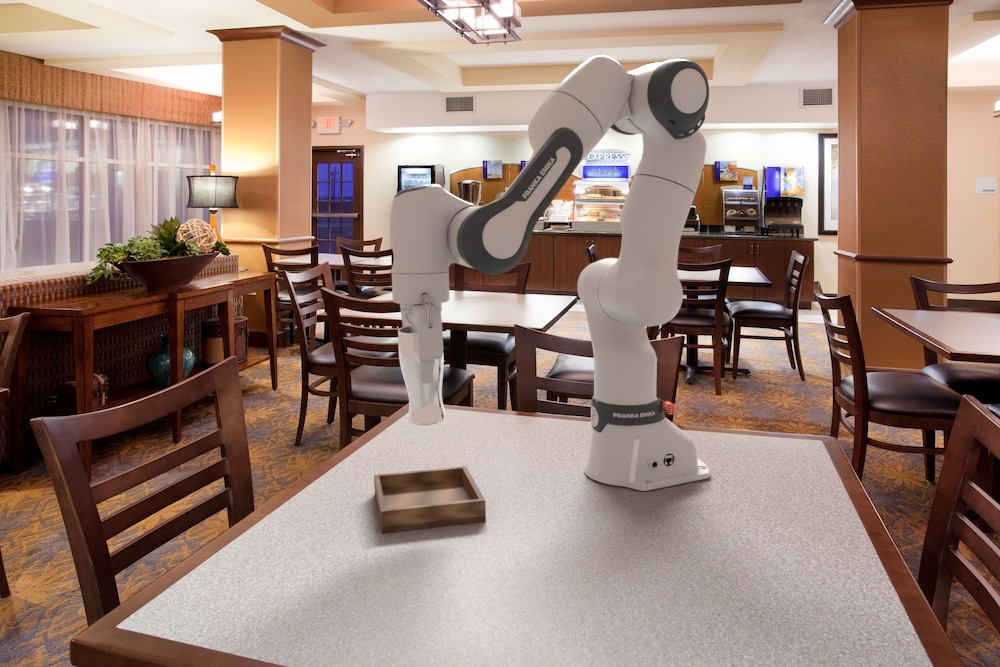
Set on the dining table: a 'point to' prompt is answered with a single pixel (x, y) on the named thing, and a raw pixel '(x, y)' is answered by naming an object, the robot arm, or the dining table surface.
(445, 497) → the walnut tray
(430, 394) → the beer glass
